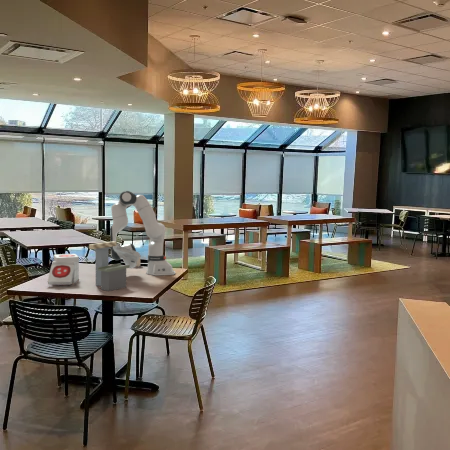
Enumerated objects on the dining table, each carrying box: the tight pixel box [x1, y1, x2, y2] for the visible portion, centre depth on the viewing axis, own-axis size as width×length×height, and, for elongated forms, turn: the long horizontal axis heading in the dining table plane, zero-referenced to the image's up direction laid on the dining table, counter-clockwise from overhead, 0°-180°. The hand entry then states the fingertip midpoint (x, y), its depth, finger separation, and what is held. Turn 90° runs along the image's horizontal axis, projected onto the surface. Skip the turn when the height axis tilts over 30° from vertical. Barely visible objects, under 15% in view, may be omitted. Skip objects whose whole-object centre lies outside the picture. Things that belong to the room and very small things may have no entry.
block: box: [88, 241, 118, 250], centre depth 342 cm, size 22×3×3 cm, turn 146°
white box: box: [47, 253, 80, 286], centre depth 347 cm, size 19×30×18 cm, turn 5°
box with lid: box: [98, 263, 131, 292], centre depth 334 cm, size 20×9×15 cm, turn 146°
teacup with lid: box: [134, 256, 141, 268], centre depth 417 cm, size 12×9×12 cm
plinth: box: [95, 247, 111, 287], centre depth 342 cm, size 8×8×26 cm
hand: (124, 246), depth 357 cm, fingers open, 8 cm apart
